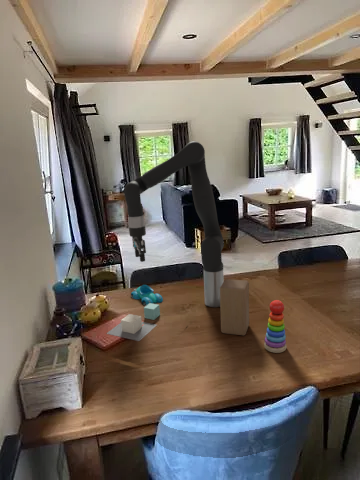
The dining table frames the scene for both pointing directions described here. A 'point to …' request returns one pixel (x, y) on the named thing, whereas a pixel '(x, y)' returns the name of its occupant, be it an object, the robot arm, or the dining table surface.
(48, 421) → the dining table surface
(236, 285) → the block
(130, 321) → the cream brick
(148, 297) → the toy car
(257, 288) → the dining table surface
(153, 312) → the teal brick
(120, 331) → the board
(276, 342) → the stacking toy
